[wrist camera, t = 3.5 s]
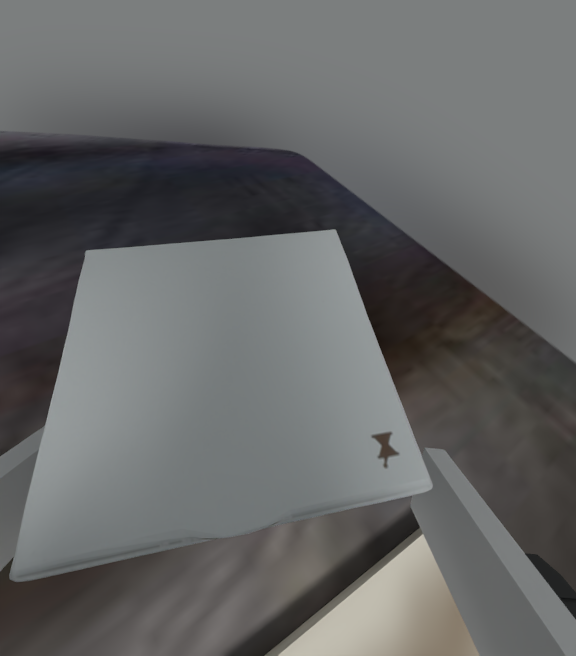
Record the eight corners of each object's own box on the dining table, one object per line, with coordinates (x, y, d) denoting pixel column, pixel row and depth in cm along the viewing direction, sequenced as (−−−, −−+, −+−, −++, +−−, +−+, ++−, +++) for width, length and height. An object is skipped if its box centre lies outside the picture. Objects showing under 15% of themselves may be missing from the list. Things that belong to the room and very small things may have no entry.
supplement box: (303, 372, 24) (345, 220, 11) (330, 498, 19) (454, 498, 6) (188, 388, 22) (79, 239, 9) (189, 527, 18) (-15, 601, 5)
